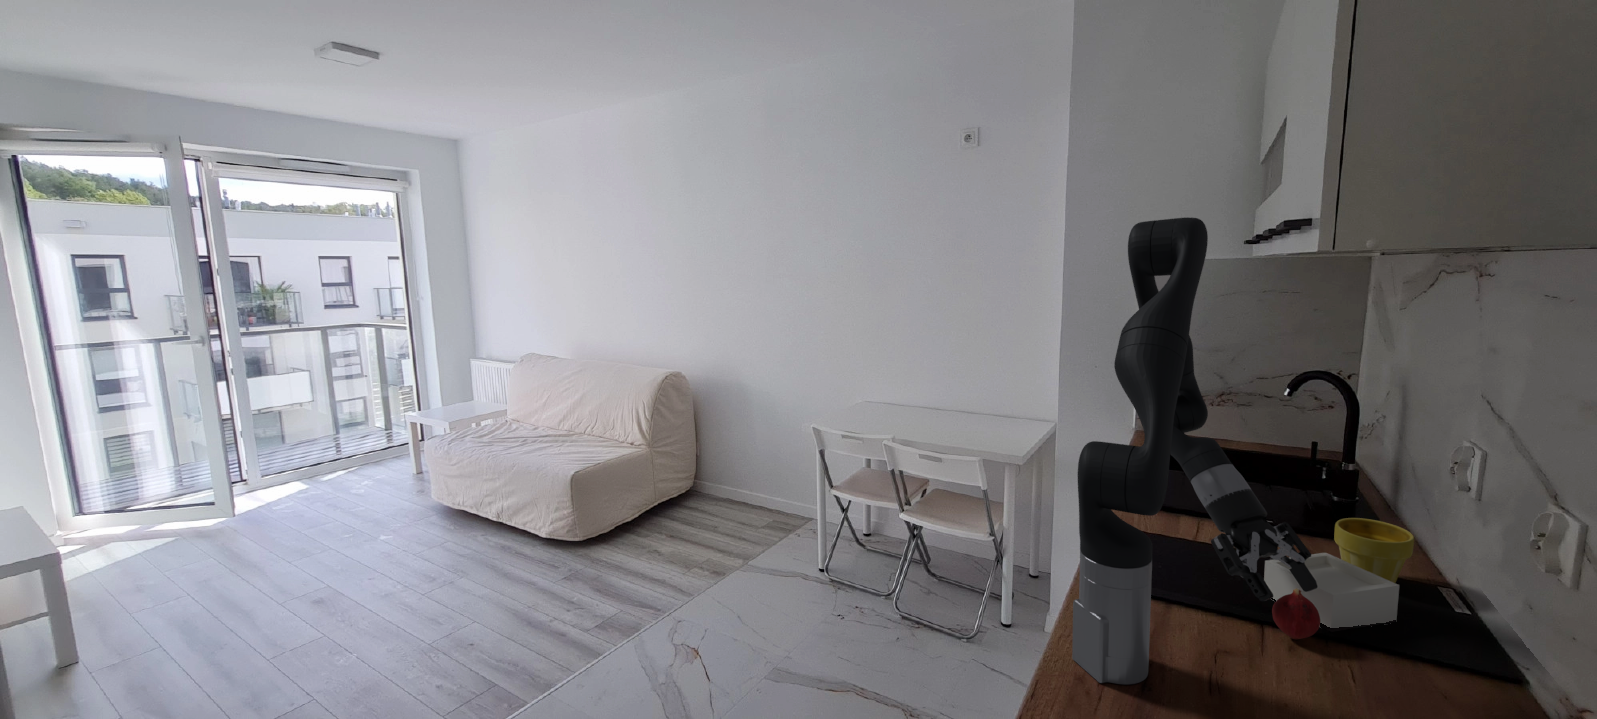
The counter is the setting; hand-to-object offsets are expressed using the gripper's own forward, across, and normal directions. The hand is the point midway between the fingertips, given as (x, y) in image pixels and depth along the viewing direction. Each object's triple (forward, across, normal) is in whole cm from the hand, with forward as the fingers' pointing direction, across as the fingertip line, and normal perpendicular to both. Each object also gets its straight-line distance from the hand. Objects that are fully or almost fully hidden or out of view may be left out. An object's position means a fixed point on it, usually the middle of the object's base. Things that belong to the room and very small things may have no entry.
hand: (1290, 594), depth 99 cm
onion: (+6, 0, +4) cm, 7 cm away
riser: (+2, +13, +8) cm, 15 cm away
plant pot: (-1, +28, +10) cm, 30 cm away
